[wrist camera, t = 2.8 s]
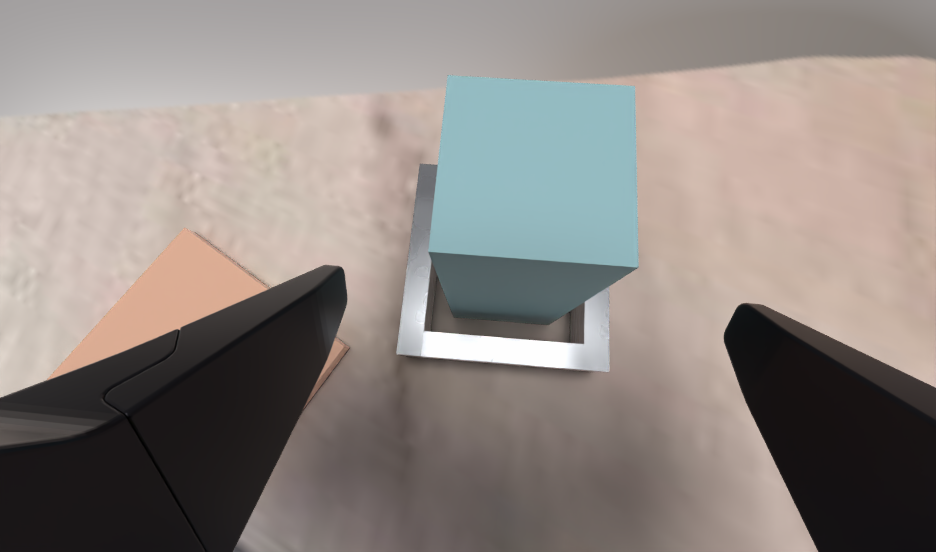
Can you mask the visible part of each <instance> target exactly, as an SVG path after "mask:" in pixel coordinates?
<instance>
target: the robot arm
mask: <svg viewBox="0 0 936 552" xmlns="http://www.w3.org/2000/svg"><path fill="white" fill-rule="evenodd" d="M346 305H347V290H346V281H345V274H344V270H343V268H342V267H340V266H331V265H323V266H321V267H319V268H316V269H314V270H312V271H309V272H307V273H305V274H302V275H300V276H298V277H296V278H293V279H291V280H289V281H286V282H284V283H282V284H279V285H277V286H275V287H272V288H270V289H268V290H265V291H263V292H261V293H259V294H256V295H254V296H252V297H249V298H247V299H245V300H242V301H240V302H238V303H235V304H233V305H231V306H228V307H226V308H224V309H222V310H219V311H217V312H215V313H212V314H210V315H208V316H205V317H203V318H201V319H198V320H196V321H194V322H191V323H189V324H187V325H185V326H182V327H181V328H180V330H179V329H175V330H173V331H170V332H168V333H166V334H164V335H161V336H159V337H157V338H154V339H152V340H149V341H147V342H145V343H142V344H140V345H137V346H135V347H133V348H130V349H128V350H125V351H123V352H120V353H118V354H115V355H112V356H110V357H107V358H105V359H102V360H99V361H97V362H94V363H92V364H89V365H86V366H84V367H81V368H78V369H76V370H73V371H70V372H68V373H65V374H62V375H60V376H57V377H54V378H52V379H49V380H46V381H44V382H41V383H38V384H36V385H33V386H30V387H28V388H25V389H22V390H20V391H17V392H14V393H12V394H9V395H6V396H4V397H1V398H0V552H233V550H234V548H235V546H236V544H237V542H238V540H239V538H240V536H241V534H242V532H243V530H244V528H245V526H246V524H247V522H248V520H249V518H250V516H251V514H252V512H253V510H254V508H255V506H256V504H257V502H258V500H259V498H260V496H261V494H262V492H263V490H264V488H265V486H266V484H267V481H268V479H269V477H270V475H271V473H272V471H273V469H274V467H275V465H276V463H277V461H278V459H279V457H280V455H281V453H282V451H283V449H284V447H285V445H286V443H287V441H288V439H289V437H290V435H291V433H292V431H293V429H294V427H295V425H296V423H297V421H298V419H299V417H300V415H301V413H302V411H303V409H304V407H305V404H306V402H307V400H308V398H309V396H310V394H311V392H312V390H313V388H314V386H315V384H316V382H317V380H318V378H319V376H320V374H321V372H322V370H323V368H324V366H325V364H326V361H327V359H328V357H329V354H330V351H331V349H332V346H333V343H334V340H335V337H336V334H337V331H338V328H339V326H340V323H341V320H342V317H343V314H344V311H345V308H346ZM724 343H725V346H726V349H727V352H728V354H729V357H730V360H731V363H732V366H733V368H734V371H735V374H736V377H737V380H738V382H739V385H740V388H741V391H742V393H743V396H744V398H745V401H746V403H747V406H748V408H749V410H750V412H751V414H752V416H753V418H754V420H755V422H756V424H757V427H758V429H759V431H760V433H761V435H762V437H763V439H764V441H765V443H766V445H767V447H768V449H769V451H770V453H771V455H772V457H773V460H774V462H775V464H776V466H777V468H778V470H779V472H780V474H781V476H782V478H783V480H784V482H785V484H786V486H787V488H788V490H789V492H790V495H791V497H792V499H793V501H794V503H795V505H796V507H797V509H798V511H799V513H800V515H801V517H802V519H803V521H804V523H805V525H806V528H807V530H808V532H809V534H810V536H811V538H812V540H813V542H814V544H815V546H816V548H817V550H818V552H936V388H935V387H933V386H931V385H929V384H927V383H925V382H923V381H920V380H918V379H916V378H914V377H912V376H910V375H908V374H906V373H904V372H902V371H900V370H897V369H895V368H893V367H891V366H889V365H887V364H885V363H883V362H881V361H879V360H877V359H875V358H872V357H870V356H868V355H866V354H864V353H862V352H860V351H858V350H856V349H854V348H852V347H850V346H847V345H845V344H843V343H841V342H839V341H837V340H835V339H833V338H831V337H829V336H827V335H825V334H822V333H820V332H818V331H816V330H814V329H812V328H810V327H808V326H806V325H804V324H802V323H800V322H797V321H795V320H793V319H791V318H789V317H787V316H785V315H783V314H781V313H779V312H777V311H775V310H772V309H770V308H768V307H766V306H764V305H760V304H751V303H743V304H740V305H739V306H738V307H737V308H736V310H735V312H734V314H733V316H732V318H731V320H730V322H729V324H728V326H727V328H726V330H725V332H724Z"/></svg>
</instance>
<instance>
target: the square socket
mask: <svg viewBox="0 0 936 552" xmlns="http://www.w3.org/2000/svg"><path fill="white" fill-rule="evenodd" d="M437 168H438V165H431V164H420V167H419V175H418V183H417V191H416V199H415V207H414V215H413V223H412V231H411V240H410V248H409V256H408V264H407V272H406V280H405V288H404V296H403V304H402V312H401V321H400V329H399V337H398V345H397V353H396V354H398V355H403V356H407V357H419V358H431V359H443V360H454V361H466V362H478V363H490V364H502V365H514V366H526V367H537V368H549V369H561V370H573V371H585V372H609V287H607V288H606V289H604V290H602V291H601V292H599V293H598V294H596V295H595V296H593V297H591V298H590V299H588V300H587V301H585V302H584V303H582V304H581V305H579V306H577V307H576V308H574V309H573V310H571V311H570V343H562V342H549V341H537V340H525V339H513V338H501V337H488V336H476V335H464V334H452V333H440V332H431V326H432V316H433V307H434V297H435V288H436V278H437V273H436V271H435V268H434V266H433V263H432V260H431V258H430V255H429V253H428V249H429V240H430V231H431V222H432V213H433V204H434V195H435V186H436V177H437Z"/></svg>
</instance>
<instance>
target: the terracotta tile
mask: <svg viewBox="0 0 936 552" xmlns="http://www.w3.org/2000/svg"><path fill="white" fill-rule="evenodd" d="M268 289H270V288H269V287H268V286H266V285H265V284H263V283H262V282H261V281H259V280H258V279H257V278H255V277H254V276H253V275H251V274H250V273H249V272H247V271H246V270H245V269H243V268H242V267H241V266H239V265H238V264H237V263H235V262H234V261H233V260H231V259H230V258H228V257H227V256H226V255H224V254H223V253H222V252H220V251H219V250H218V249H216V248H215V247H214V246H212V245H211V244H210V243H208V242H207V241H206V240H204V239H203V238H202V237H200V236H199V235H197V234H196V233H194V232H192V231H190V230H188V229H186V228H184V229H183V230H182V231H181V232H180V233H179V234H178V235H177V237H176V238H175V239H174V240H173V241H172V242H171V243H170V244H169V245H168V247H167V248H166V249H165V250H164V251H163V252H162V253H161V254H160V255H159V256H158V258H157V259H156V260H155V261H154V262H153V263H152V264H151V265H150V266H149V268H148V269H147V270H146V271H145V272H144V273H143V274H142V275H141V276H140V277H139V279H138V280H137V281H136V282H135V283H134V284H133V285H132V286H131V287H130V289H129V290H128V291H127V292H126V293H125V294H124V295H123V296H122V297H121V298H120V300H119V301H118V302H117V303H116V304H115V305H114V306H113V307H112V308H111V309H110V311H109V312H108V313H107V314H106V315H105V316H104V317H103V318H102V319H101V321H100V322H99V323H98V324H97V325H96V326H95V327H94V328H93V329H92V330H91V332H90V333H89V334H88V335H87V336H86V337H85V338H84V339H83V340H82V342H81V343H80V344H79V345H78V346H77V347H76V348H75V349H74V350H73V351H72V353H71V354H70V355H69V356H68V357H67V358H66V359H65V360H64V361H63V363H62V364H61V365H60V366H59V367H58V368H57V369H56V370H55V371H54V372H53V374H52V375H51V376H50V377H49V378H48V379H47V380H49V379H52V378H54V377H57V376H60V375H62V374H65V373H68V372H70V371H73V370H76V369H78V368H81V367H84V366H86V365H89V364H92V363H94V362H97V361H99V360H102V359H105V358H107V357H110V356H112V355H115V354H118V353H120V352H123V351H125V350H128V349H130V348H133V347H135V346H137V345H140V344H142V343H145V342H147V341H149V340H152V339H154V338H157V337H159V336H161V335H164V334H166V333H168V332H170V331H173V330H175V329H179V330H180V328H181V327H182V326H185V325H187V324H189V323H191V322H194V321H196V320H198V319H201V318H203V317H205V316H208V315H210V314H212V313H215V312H217V311H219V310H222V309H224V308H226V307H228V306H231V305H233V304H235V303H238V302H240V301H242V300H245V299H247V298H249V297H252V296H254V295H256V294H259V293H261V292H263V291H265V290H268ZM349 348H350V347H348V346H347V345H346V344H344V343H343V342H342V341H340V340H339V339H338V338H336V337H335V340H334V343H333V346H332V349H331V351H330V354H329V357H328V359H327V361H326V364H325V366H324V368H323V370H322V372H321V374H320V376H319V378H318V380H317V382H316V384H315V386H314V388H313V390H312V392H311V394H310V396H309V398H308V400H307V402H306V404H305V406H306V405H307V404H308V402H309V401H310V400H311V398H312V397H313V396H314V394H315V393H316V392H317V390H318V389H319V388H320V386H321V385H322V384H323V382H324V381H325V380H326V378H327V377H328V376H329V374H330V373H331V372H332V370H333V369H334V368H335V366H336V365H337V364H338V362H339V361H340V360H341V358H342V357H343V356H344V354H345V353H346V352H347V350H348V349H349ZM304 408H305V407H304Z"/></svg>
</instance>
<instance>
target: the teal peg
mask: <svg viewBox="0 0 936 552" xmlns="http://www.w3.org/2000/svg"><path fill="white" fill-rule="evenodd" d="M428 253H429V255H430V258H431V260H432V263H433V266H434V268H435V271H436V273H437V276H438V278H439V281H440V284H441V286H442V289H443V291H444V294H445V296H446V299H447V302H448V304H449V307H450V309H451V312H452V315H453V317H456V318H469V319H481V320H494V321H506V322H519V323H531V324H544V325H549V324H551V323H552V322H554V321H555V320H557V319H559V318H560V317H562V316H563V315H565V314H566V313H568V312H570V311H571V310H573V309H574V308H576V307H577V306H579V305H581V304H582V303H584V302H585V301H587V300H588V299H590V298H591V297H593V296H595V295H596V294H598V293H599V292H601V291H602V290H604V289H606V288H607V287H609V286H610V285H612V284H613V283H615V282H617V281H618V280H620V279H621V278H623V277H624V276H626V275H627V274H629V273H631V272H632V271H634V270H635V269H637V268H638V217H637V166H636V115H635V86H622V85H605V84H588V83H571V82H554V81H537V80H519V79H502V78H485V77H468V76H451V75H448V79H447V87H446V96H445V105H444V114H443V123H442V132H441V141H440V150H439V159H438V168H437V177H436V186H435V195H434V204H433V213H432V222H431V231H430V240H429V249H428Z"/></svg>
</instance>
